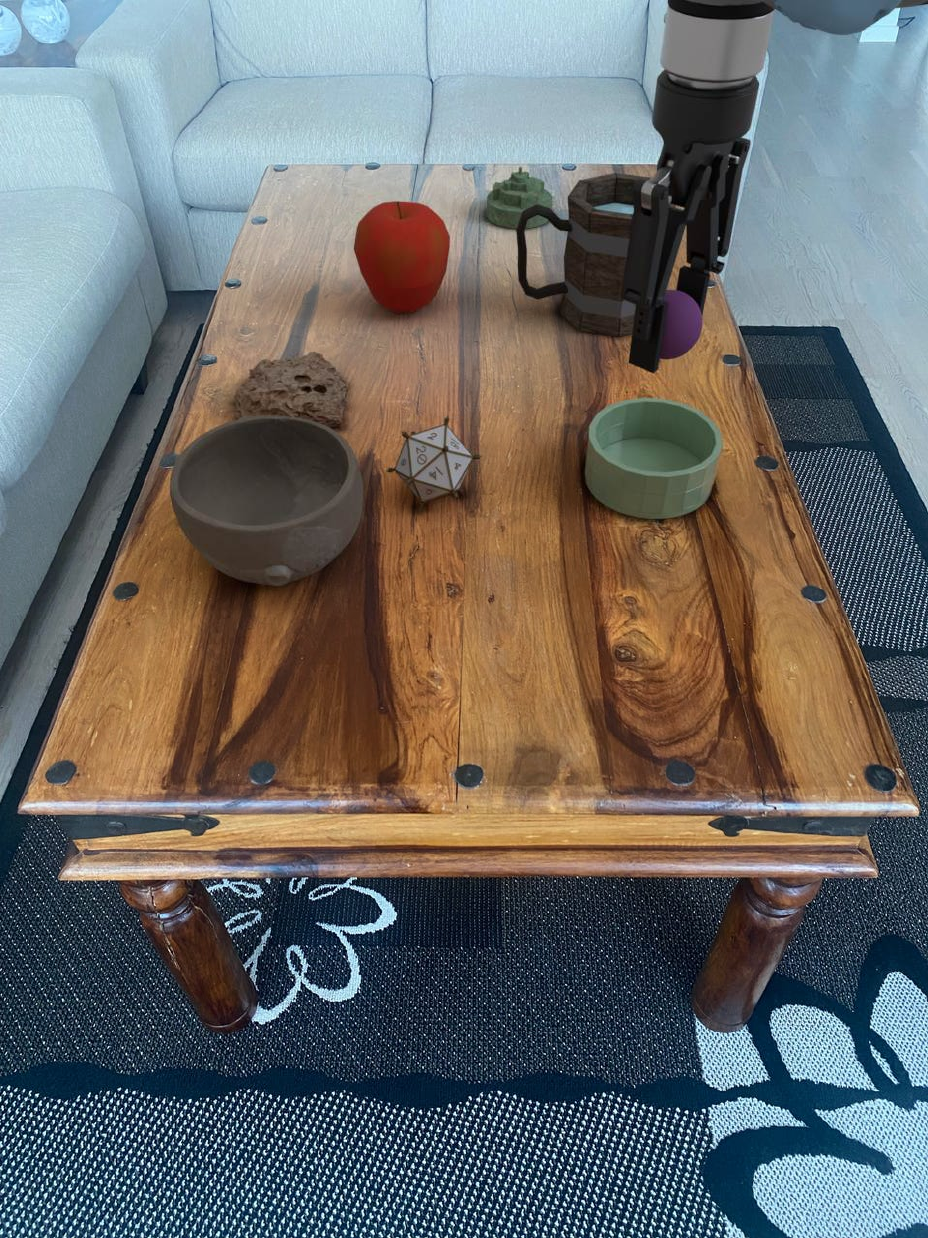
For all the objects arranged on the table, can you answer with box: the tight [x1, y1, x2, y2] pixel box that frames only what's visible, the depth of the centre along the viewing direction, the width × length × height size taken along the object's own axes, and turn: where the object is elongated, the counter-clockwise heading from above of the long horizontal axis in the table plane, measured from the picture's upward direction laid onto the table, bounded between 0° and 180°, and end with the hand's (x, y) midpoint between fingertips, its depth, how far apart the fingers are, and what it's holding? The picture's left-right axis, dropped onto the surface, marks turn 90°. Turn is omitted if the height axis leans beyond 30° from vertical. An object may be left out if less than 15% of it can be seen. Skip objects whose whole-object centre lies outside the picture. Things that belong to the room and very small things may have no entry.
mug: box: [515, 172, 677, 338], centre depth 116 cm, size 20×14×15 cm
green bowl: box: [584, 397, 724, 520], centre depth 95 cm, size 13×13×6 cm
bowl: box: [169, 415, 364, 587], centre depth 87 cm, size 17×18×10 cm
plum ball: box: [660, 289, 703, 360], centre depth 83 cm, size 6×6×6 cm
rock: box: [234, 351, 349, 429], centre depth 108 cm, size 14×13×4 cm
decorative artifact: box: [486, 166, 553, 230], centre depth 140 cm, size 10×7×10 cm
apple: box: [353, 200, 451, 314], centre depth 118 cm, size 12×12×14 cm
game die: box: [386, 415, 483, 512], centre depth 93 cm, size 9×8×10 cm
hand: (663, 351), depth 85 cm, fingers closed on plum ball, 6 cm apart
